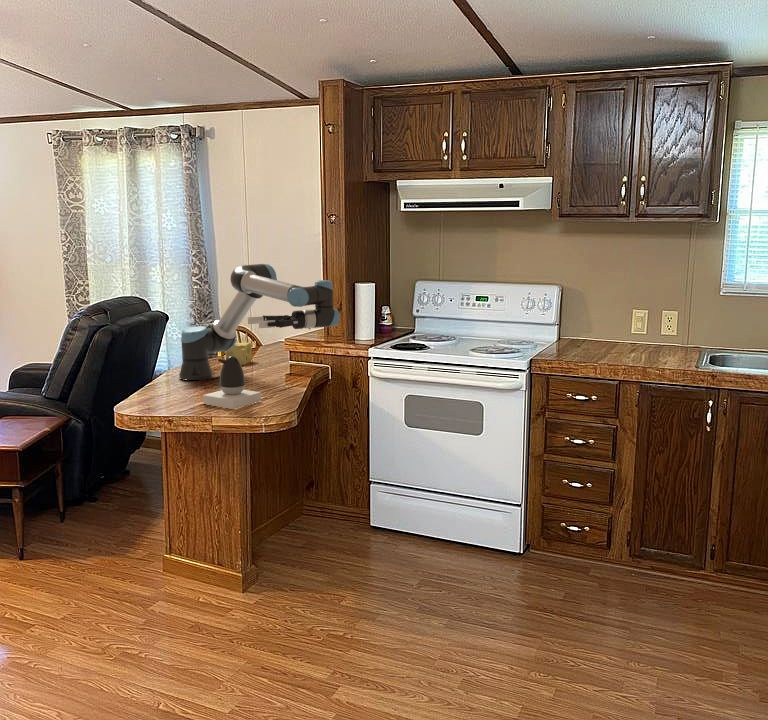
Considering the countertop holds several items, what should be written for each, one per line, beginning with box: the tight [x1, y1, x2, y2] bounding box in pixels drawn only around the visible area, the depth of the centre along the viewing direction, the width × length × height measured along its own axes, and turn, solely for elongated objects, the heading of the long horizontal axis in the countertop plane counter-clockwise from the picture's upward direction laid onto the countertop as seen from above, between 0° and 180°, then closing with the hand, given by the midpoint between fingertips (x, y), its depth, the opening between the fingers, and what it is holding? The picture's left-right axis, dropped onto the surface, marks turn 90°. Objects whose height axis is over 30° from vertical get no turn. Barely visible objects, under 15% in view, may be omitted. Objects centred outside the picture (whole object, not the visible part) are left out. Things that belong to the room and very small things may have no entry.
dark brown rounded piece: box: [217, 356, 246, 395], centre depth 319 cm, size 10×10×15 cm
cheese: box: [225, 342, 253, 366], centre depth 408 cm, size 10×11×10 cm
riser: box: [202, 389, 262, 410], centre depth 320 cm, size 16×16×4 cm
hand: (253, 322), depth 319 cm, fingers open, 13 cm apart
